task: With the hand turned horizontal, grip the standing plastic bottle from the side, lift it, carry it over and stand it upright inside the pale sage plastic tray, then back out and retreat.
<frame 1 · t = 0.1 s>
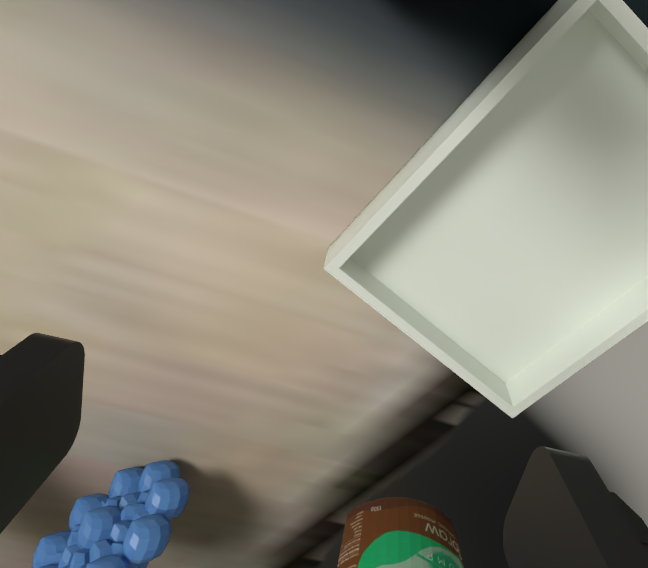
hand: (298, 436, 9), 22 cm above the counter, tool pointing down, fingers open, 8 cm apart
grapes: (148, 476, 43), on the counter
tray: (533, 219, 30), on the counter
food container: (418, 517, 42), on the counter
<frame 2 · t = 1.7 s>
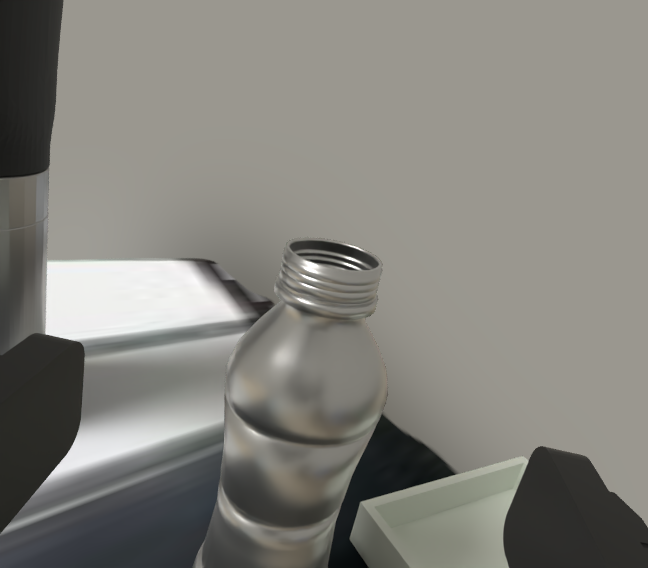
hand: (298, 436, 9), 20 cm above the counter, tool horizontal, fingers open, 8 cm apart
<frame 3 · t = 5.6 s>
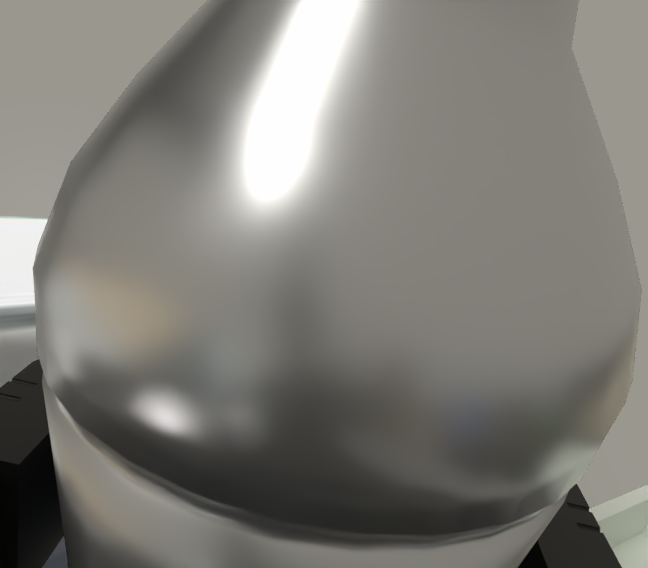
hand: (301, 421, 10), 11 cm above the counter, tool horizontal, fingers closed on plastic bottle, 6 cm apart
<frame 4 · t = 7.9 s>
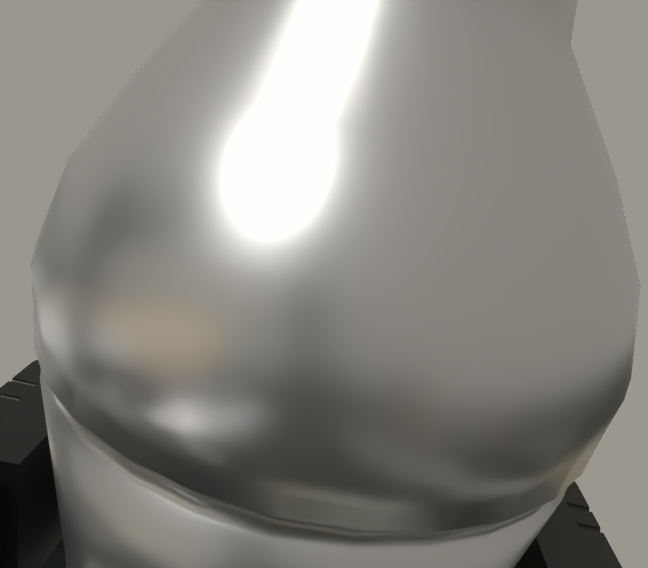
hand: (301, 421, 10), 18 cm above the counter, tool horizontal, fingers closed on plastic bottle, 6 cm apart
when the fingers open (13 cm above the counter, at t = 10.1 s): plastic bottle drops 1 cm, resting on tray.
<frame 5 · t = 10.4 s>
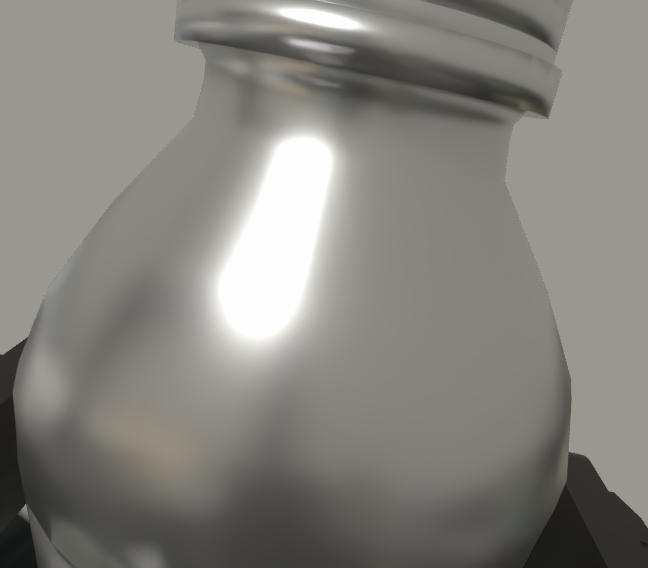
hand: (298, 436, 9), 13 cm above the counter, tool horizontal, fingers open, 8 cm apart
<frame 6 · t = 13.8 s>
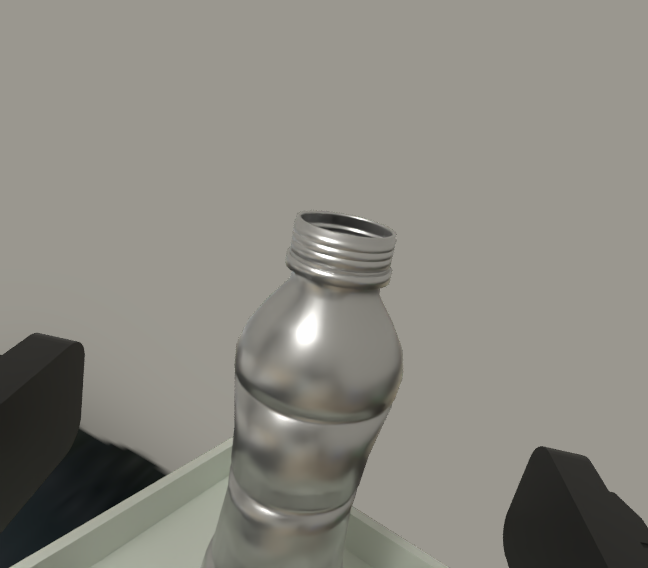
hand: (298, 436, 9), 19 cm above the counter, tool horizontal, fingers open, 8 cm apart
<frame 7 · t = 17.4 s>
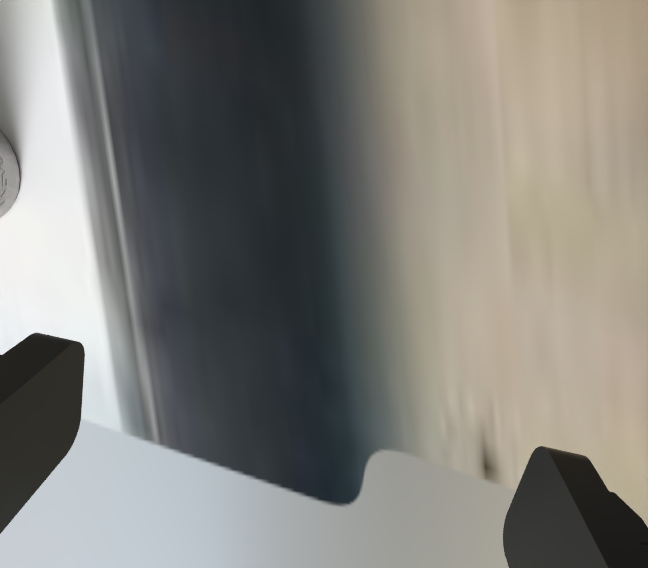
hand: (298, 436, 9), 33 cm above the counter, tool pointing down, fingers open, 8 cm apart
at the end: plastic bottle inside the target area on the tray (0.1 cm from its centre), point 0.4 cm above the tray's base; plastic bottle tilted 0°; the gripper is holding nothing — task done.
